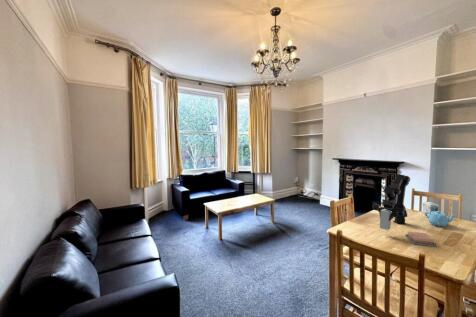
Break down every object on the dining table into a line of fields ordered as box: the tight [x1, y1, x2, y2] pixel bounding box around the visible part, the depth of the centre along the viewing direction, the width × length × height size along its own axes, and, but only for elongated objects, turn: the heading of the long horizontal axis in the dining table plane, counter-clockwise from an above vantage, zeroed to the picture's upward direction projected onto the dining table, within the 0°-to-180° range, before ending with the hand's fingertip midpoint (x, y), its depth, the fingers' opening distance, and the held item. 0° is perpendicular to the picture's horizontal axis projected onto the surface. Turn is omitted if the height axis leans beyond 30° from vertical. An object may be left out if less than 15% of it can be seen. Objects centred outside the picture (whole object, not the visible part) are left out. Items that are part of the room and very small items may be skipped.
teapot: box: [424, 210, 456, 228], centre depth 165 cm, size 13×14×11 cm
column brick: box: [379, 209, 392, 231], centre depth 150 cm, size 5×5×14 cm
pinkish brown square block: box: [404, 231, 437, 248], centre depth 140 cm, size 12×12×4 cm
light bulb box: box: [421, 201, 440, 217], centre depth 186 cm, size 11×7×11 cm, turn 168°
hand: (384, 219), depth 149 cm, fingers closed on column brick, 5 cm apart
